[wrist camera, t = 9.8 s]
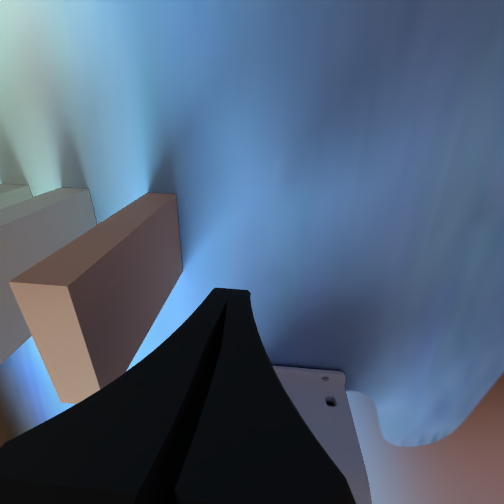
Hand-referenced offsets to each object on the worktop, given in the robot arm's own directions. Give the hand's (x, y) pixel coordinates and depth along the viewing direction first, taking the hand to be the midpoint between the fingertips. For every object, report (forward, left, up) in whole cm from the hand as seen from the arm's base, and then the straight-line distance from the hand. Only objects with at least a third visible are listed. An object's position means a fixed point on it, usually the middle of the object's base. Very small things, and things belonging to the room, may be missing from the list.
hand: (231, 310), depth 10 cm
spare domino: (+5, 0, -6) cm, 8 cm away
